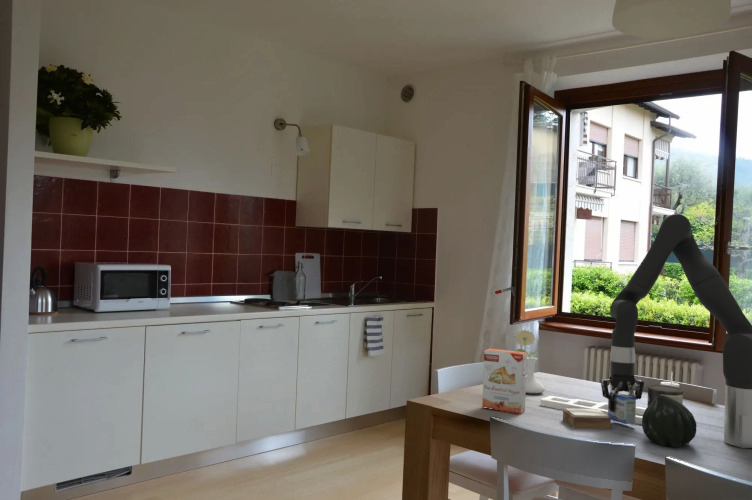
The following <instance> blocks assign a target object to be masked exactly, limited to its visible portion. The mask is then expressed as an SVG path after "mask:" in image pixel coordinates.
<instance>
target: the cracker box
mask: <svg viewBox="0 0 752 500" xmlns="http://www.w3.org/2000/svg"><path fill="white" fill-rule="evenodd" d="M527 353H528V352H527ZM527 353H526V351H525V352H517V350H515V351H514V350H508V349H507V350H506V349H499V348H490V347H489V348H487V349H485V350H484V353H483V379H482V380H483V381H482V403H481V405H482V407H487V408H492V409H495V410H494V411H498V410H500V411H499V412H504V411H506V412H505V413H510V412H511V413H512V414H516V413H517V415H521V414H522V413H524V412H525V411H526V394H527V393H526V377H527V366H528V364H527V357H528V355H527ZM511 413H510V414H511Z"/></svg>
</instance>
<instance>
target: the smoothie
mask: <svg viewBox="0 0 752 500" xmlns="http://www.w3.org/2000/svg"><path fill="white" fill-rule="evenodd" d="M673 375H674V372H673V371H670V381H660V384H659V385H667V386H673V387H678V388H680V384H679V383H677V382H674V381H673Z"/></svg>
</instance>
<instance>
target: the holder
mask: <svg viewBox="0 0 752 500" xmlns="http://www.w3.org/2000/svg"><path fill="white" fill-rule="evenodd" d="M539 405H540V406H541V405H542V407H547V408H552V407H553V409H557V410H562V411H563V410H565V408H572V409H598V410H600V411H601V412H603V413H605V414H606V415H608V402H605V401H601V402H596V401H591V400H586V399H585V400H584V399H580V398H575V399H571V398H567V397H560V396H556V395H555V396H554V395H548V396H546V397H542V398H540V401H539ZM646 408H647V407H641V406H636V417H635V423H634V424H635V425H636V424H637V425H641V426H642V417H643V414H644V412H645V410H646Z"/></svg>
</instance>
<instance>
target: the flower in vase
mask: <svg viewBox="0 0 752 500" xmlns="http://www.w3.org/2000/svg"><path fill="white" fill-rule="evenodd" d="M514 340H515V341H516V344H518V345H521V346H523V347H526V346H531V345H533V344H534V342H535V341H536V338H535V335H534V334H533V332H531V331H530V330H526V329H524V330H523V329H521V330H519V331H516V334H515V335H514ZM516 351H517V352H526V353H527V374H526V394H541V393H543V392H545V391H546V389H545V387H544V385H543V384H542V383H541V382H540V381H538V379H536V377H535V372H534V371H535V365H536V362H537V361H538V357H532V356H530V355H534V354H536V353H537V352H538V351H539V349H536V350H533V351H530V352H529V353H528V351H527V350H526V348H523V349H522V348H517V350H516Z"/></svg>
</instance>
